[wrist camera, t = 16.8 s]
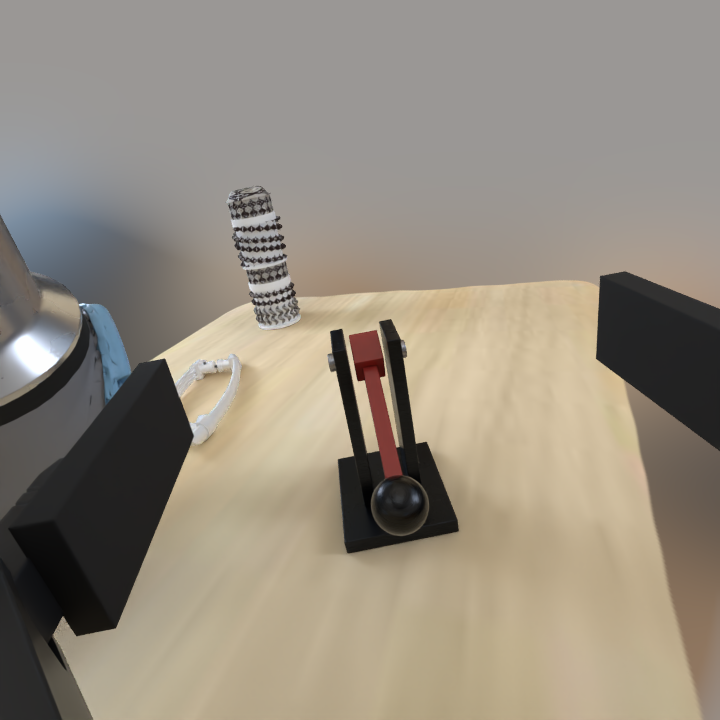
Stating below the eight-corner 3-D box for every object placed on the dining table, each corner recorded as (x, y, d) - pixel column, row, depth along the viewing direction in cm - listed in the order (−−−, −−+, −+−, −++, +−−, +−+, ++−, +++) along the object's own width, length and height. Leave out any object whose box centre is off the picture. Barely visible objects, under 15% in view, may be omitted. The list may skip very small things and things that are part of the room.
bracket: (458, 531, 38) (438, 350, 31) (347, 553, 37) (303, 377, 31) (428, 451, 48) (408, 302, 41) (340, 468, 47) (306, 322, 41)
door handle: (135, 465, 55) (193, 371, 77) (219, 450, 55) (252, 360, 77) (126, 446, 54) (187, 356, 76) (212, 431, 53) (247, 345, 76)
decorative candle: (311, 318, 92) (280, 182, 82) (268, 334, 88) (230, 193, 77) (290, 310, 99) (260, 184, 89) (249, 324, 95) (212, 194, 85)
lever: (435, 537, 30) (436, 517, 27) (378, 548, 30) (374, 530, 27) (387, 351, 39) (385, 322, 36) (344, 360, 39) (338, 331, 36)
